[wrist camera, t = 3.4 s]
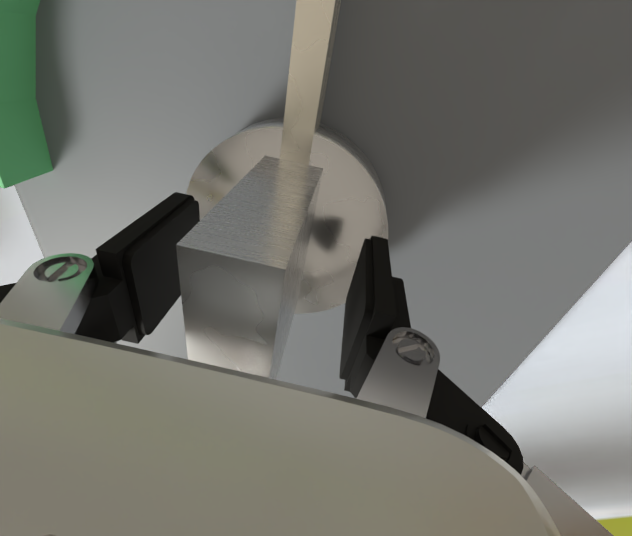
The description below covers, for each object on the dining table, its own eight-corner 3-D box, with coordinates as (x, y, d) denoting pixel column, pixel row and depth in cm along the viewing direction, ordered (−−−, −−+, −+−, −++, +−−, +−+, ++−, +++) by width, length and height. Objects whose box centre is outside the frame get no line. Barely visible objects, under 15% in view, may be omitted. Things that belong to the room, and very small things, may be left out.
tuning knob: (358, 301, 16) (353, 471, 10) (208, 268, 16) (101, 413, 10) (496, -98, 8) (1095, -797, 1) (194, -162, 8) (-562, -1119, 1)
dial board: (454, 411, 23) (469, 467, 20) (95, 329, 24) (52, 373, 20) (982, -232, 7) (1483, -464, 4) (-190, -475, 7) (-617, -882, 4)
